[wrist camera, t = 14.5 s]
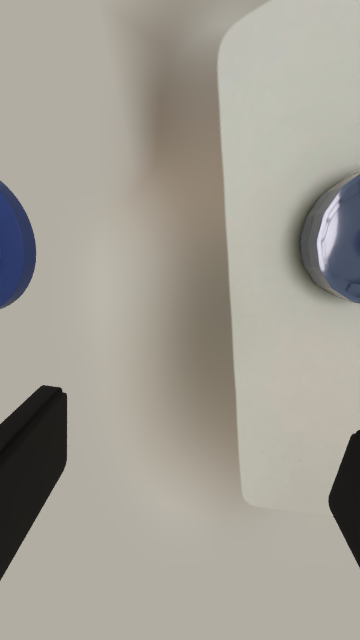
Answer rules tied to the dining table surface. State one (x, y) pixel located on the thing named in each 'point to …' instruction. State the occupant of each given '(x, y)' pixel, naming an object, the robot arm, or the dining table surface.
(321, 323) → the dining table surface
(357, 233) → the bowl
